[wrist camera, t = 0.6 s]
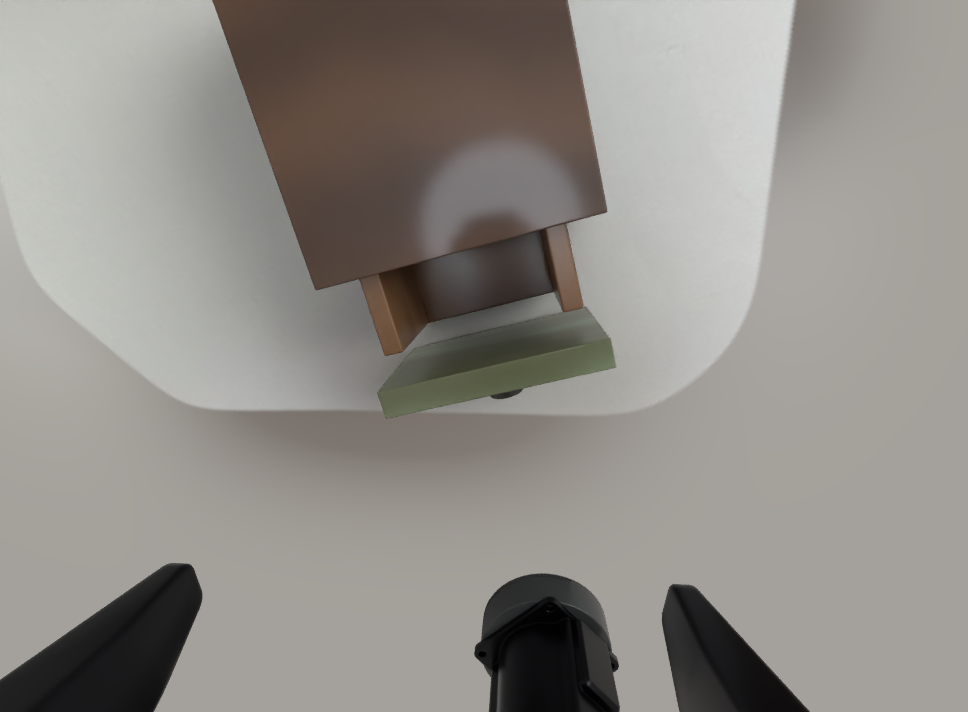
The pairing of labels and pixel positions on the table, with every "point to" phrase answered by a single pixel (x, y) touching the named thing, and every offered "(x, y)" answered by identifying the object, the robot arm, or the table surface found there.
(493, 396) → the drawer
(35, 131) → the table surface
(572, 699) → the robot arm
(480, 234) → the cabinet
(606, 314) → the table surface
